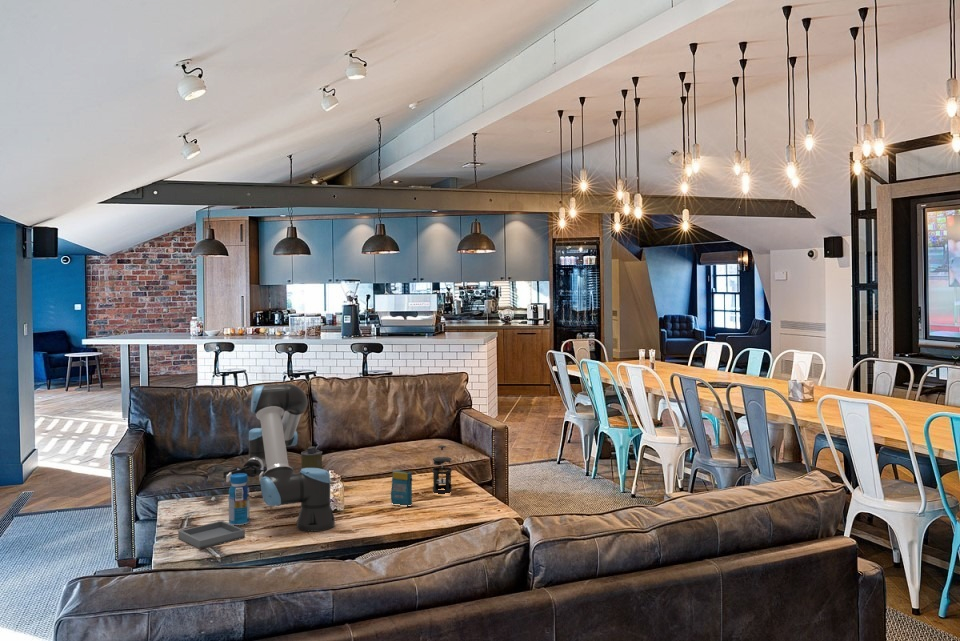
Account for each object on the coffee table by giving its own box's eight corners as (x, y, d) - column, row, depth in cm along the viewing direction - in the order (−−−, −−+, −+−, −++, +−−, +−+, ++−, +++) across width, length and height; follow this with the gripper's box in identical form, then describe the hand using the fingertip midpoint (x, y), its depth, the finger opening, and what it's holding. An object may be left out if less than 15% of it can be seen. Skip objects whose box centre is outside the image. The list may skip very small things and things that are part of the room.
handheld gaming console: (413, 505, 323) (412, 472, 323) (408, 508, 319) (408, 474, 319) (394, 503, 327) (394, 470, 327) (389, 505, 323) (389, 472, 323)
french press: (456, 495, 341) (456, 446, 340) (440, 498, 335) (439, 449, 335) (443, 490, 350) (442, 442, 350) (426, 493, 345) (426, 445, 344)
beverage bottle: (224, 524, 296) (223, 476, 296) (237, 519, 304) (237, 471, 304) (240, 527, 293) (240, 478, 293) (254, 521, 301) (253, 473, 300)
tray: (244, 537, 280) (244, 529, 280) (199, 549, 267) (199, 541, 266) (222, 527, 292) (222, 520, 292) (178, 538, 279) (178, 530, 279)
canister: (317, 490, 351) (317, 449, 350) (297, 489, 353) (297, 448, 352) (326, 484, 361) (326, 445, 361) (307, 484, 363) (306, 444, 363)
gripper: (281, 474, 331) (273, 486, 310) (225, 475, 328) (213, 488, 307) (281, 458, 331) (273, 469, 310) (224, 459, 328) (213, 470, 307)
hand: (243, 478), depth 308 cm, fingers open, 13 cm apart
